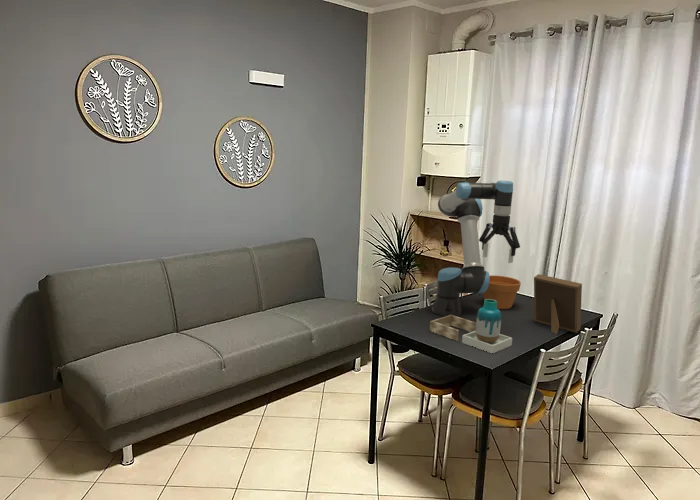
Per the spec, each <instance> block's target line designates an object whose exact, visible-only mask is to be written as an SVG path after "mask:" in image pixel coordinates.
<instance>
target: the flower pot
mask: <svg viewBox="0 0 700 500" xmlns="http://www.w3.org/2000/svg"><path fill="white" fill-rule="evenodd" d="M489 277H490V281H489V286H488V289H487V290H486V292H484V293H482V294H483V300H485V299H493V300H496V301H497V309H498V310H508V309H511V308H512V306H513V305H514V303H515V299H516V297H517V294H518V292H519V291H520V288H521V285H522V282H521V281H520V280H519V279H516V278H514V277H511V276H505V275H504V276H503V275H491V274H490V275H489Z"/></svg>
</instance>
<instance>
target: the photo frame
mask: <svg viewBox="0 0 700 500" xmlns="http://www.w3.org/2000/svg"><path fill="white" fill-rule="evenodd" d="M582 288H583V283H581V282H576V281H572V280H566V279H562V278H558V277H554V276H549V275H545V274H540V273H538V274H536V275H535V276H534V277H533V312H534V313H533V314H534V315H533V319H534V320H533V321H534V322H537V323H541V324H544V325H548V326H550V332H551V333H553V334H555V335H558V333H559V329H561V330H564V329H565V331H569V332H571V333H575V334H577V333H579V331H580V330H581V328H582V321H581V320H582V293H583V292H582V291H583V289H582Z"/></svg>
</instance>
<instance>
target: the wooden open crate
mask: <svg viewBox="0 0 700 500" xmlns="http://www.w3.org/2000/svg"><path fill="white" fill-rule="evenodd" d="M456 328H458V329H456ZM459 329H460V330H464V331H466V332H468V333H470V332H473V331H476V321H471V320H469V319H466V318H462V317H459V316H454V315H448V316H442V317H439V318H435V319H434V320H430V323H429V332H430V331H431V333H433V332H434V334H436V333H437V335H439V336H441V335H442V337H444V336H445V338H447V339H451V340H452V339H453V341H456V342H458V341H459V335H460V334H459V333H460V330H459Z"/></svg>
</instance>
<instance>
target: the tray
mask: <svg viewBox="0 0 700 500" xmlns="http://www.w3.org/2000/svg"><path fill="white" fill-rule="evenodd" d="M461 344H464V345H467V346H470V347H472V346H473V347H472V348H475V347H476V349H478V350H481V351H483V350H484V352H486V351H487V353H488V354H492V353H493V354H495V353H497V352H500V351H502V350H504V349H506V348H509V347H511V346H513V345H512V344H513V337H510V336H507V335H504V334H501V333H500V334H499V338H498V339H497V341H496V342H493V343H485V342H482V341H480V340H478V338H477V336H476V331H473V332H468V333H466V334H462V337H461Z"/></svg>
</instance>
